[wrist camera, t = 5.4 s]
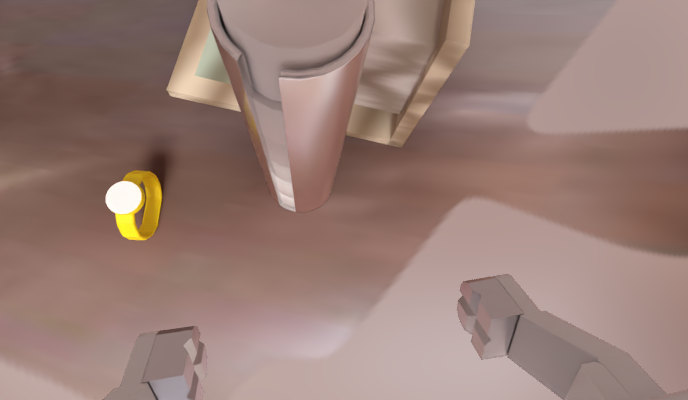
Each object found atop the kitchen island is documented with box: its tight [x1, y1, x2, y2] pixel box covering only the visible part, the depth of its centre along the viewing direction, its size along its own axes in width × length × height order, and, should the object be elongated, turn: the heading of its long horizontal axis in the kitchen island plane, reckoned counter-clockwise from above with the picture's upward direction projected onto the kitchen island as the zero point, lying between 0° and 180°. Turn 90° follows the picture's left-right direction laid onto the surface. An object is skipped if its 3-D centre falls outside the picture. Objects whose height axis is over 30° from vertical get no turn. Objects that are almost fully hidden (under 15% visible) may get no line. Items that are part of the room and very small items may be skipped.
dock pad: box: [167, 0, 241, 112], centre depth 39 cm, size 12×12×1 cm
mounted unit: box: [346, 0, 475, 148], centre depth 33 cm, size 7×13×17 cm, turn 169°
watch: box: [106, 170, 162, 240], centre depth 33 cm, size 6×3×6 cm, turn 178°
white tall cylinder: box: [207, 0, 375, 213], centre depth 25 cm, size 6×6×25 cm
